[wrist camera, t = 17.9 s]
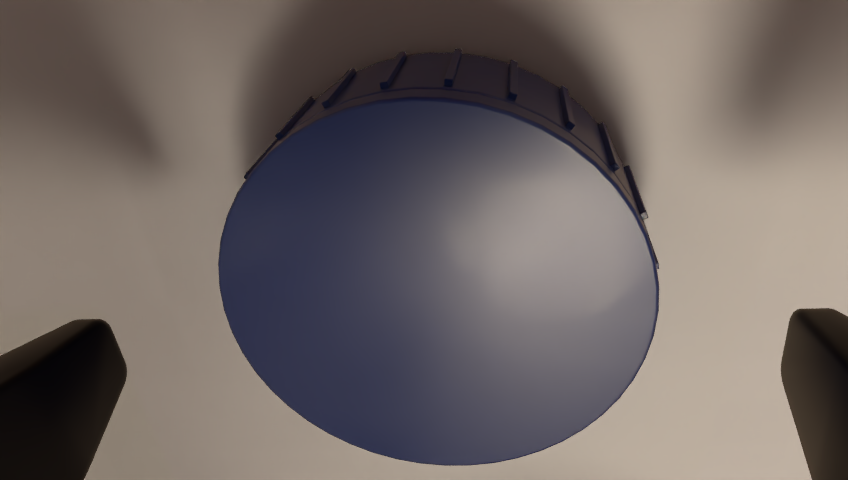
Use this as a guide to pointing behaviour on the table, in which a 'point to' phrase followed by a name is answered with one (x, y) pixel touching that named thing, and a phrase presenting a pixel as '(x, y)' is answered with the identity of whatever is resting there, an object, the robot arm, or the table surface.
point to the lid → (442, 262)
